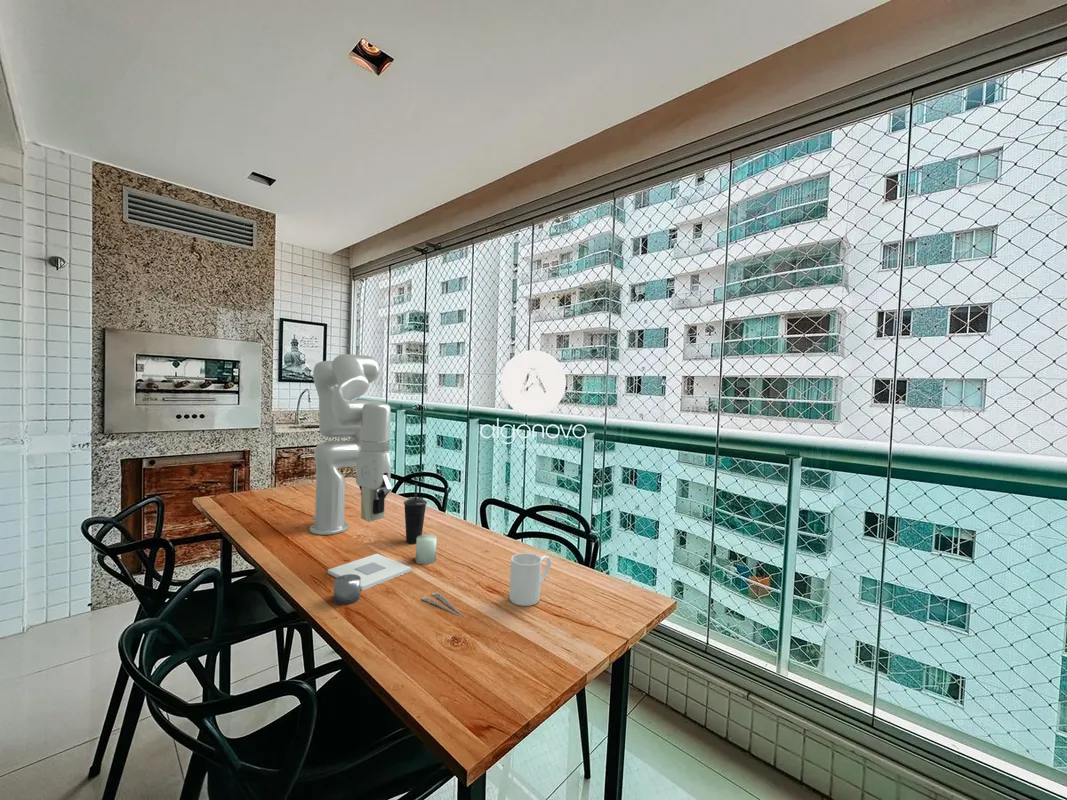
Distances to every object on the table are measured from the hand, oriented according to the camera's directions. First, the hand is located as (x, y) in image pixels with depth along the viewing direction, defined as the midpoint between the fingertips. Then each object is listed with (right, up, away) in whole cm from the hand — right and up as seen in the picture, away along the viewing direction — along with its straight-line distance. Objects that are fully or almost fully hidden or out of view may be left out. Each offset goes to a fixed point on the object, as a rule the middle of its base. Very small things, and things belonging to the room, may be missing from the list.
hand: (372, 510), depth 126 cm
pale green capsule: (+12, -18, +11) cm, 24 cm away
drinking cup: (+5, -17, +26) cm, 32 cm away
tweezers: (+25, -20, -17) cm, 37 cm away
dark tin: (-1, -18, -15) cm, 24 cm away
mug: (+45, -21, -9) cm, 50 cm away
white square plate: (-1, -18, +1) cm, 18 cm away
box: (0, -3, 0) cm, 3 cm away
